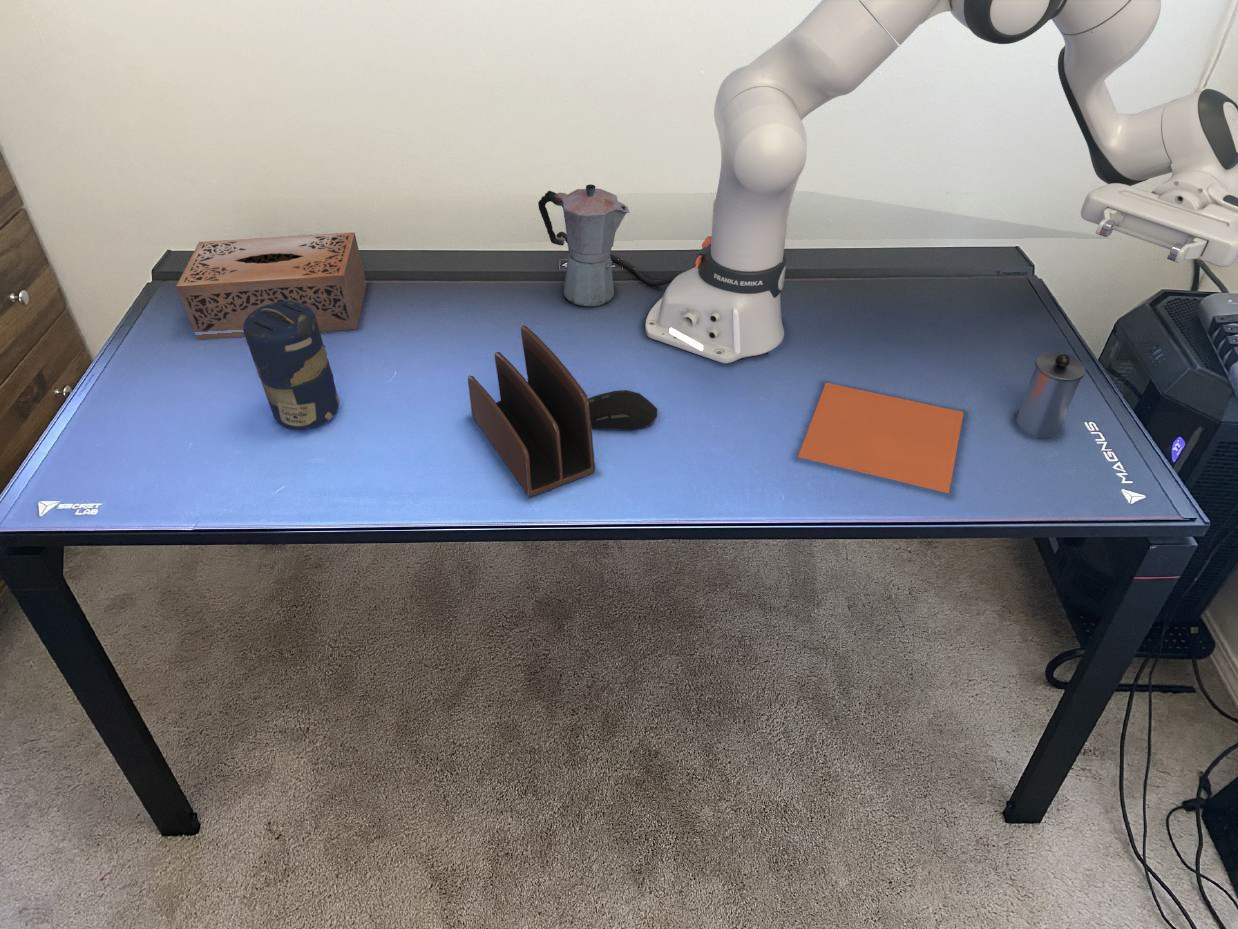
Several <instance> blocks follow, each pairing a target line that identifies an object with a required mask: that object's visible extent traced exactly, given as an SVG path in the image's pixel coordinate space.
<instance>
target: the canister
mask: <svg viewBox="0 0 1238 929" xmlns="http://www.w3.org/2000/svg"><path fill="white" fill-rule="evenodd" d="M243 331H244V335H245V337H244V338H245V341H246V344H247V346H248V349H249V351H250V355H251V358H252V360H253V363H254V366H255V370H256V372H257V375H258V378H259V380H260V382H261V385H262V389H263V391H264V394H265V397H266V399H267V402H268V405H269V408H270V411H271V414H272V416H273V418H274V419H275V421H276V423H277V424H278V425H280V426H281V427H283V428H285V429H288V430H292V431H307V430H312V429H315V428H318V427H321V426H323V425H324V424H326V423H327V422H330V420H332V419H333V418H334V417H335V415H336V414H337V413H338V410H339V407H340V398H339V395H338V392H337V388H336V384H335V379H334V374H333V372H332V368H331V364H330V360H329V358H328V352H327V351H326V345H325V344H324V342H323V338H322V335H321V332H320V331H319V327H318V323H317V320H316V317H315V314H314V312H313V311H312V310H311V309H310V308H309V307H308V306H306V305H304V304H302V303H299V302H293V301H280V302H274V303H270V304H267V305H264V306H262V307H260V308H258V309H256V310H254V311H253V312H252V313H251V314H249V315H248V317H247V318H246V319H245V321H244V326H243Z"/></svg>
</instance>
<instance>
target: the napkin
mask: <svg viewBox="0 0 1238 929" xmlns="http://www.w3.org/2000/svg"><path fill="white" fill-rule="evenodd" d="M823 386H824V387H823V389H822V392H821V394H820V397H819V400H818V402H817V404H816V407H815V410H814V413H813V415H812V418H811V420H810V423H809V426H808V428H807V431H806V435H805V436H804V439H803V441H802V443H801V444H802V445H801V446H800V449H799V452H798V454H797V457H798V458H800V459H805V460H810V461H814V462H817V463H822V464H824V465H825V464H826V465H830V466H833V467H838V468H843V469H846V470H850V471H855V472H859V473H862V474H867V475H871V476H875V477H879V478H884V479H889V480H892V481H897V482H900V483H905V484H908V485H913V486H917V487H921V488H925V489H929V490H934V491H938V492H942V493H946V494H949V493H950V490H951V484H952V479H953V473H954V468H955V461H956V456H957V453H958V452H957V451H958V447H959V446H958V445H959V441H960V435H961V430H962V425H963V419H964V411H961V410H957V409H956V410H955V409H951V408H947V407H942V406H937V405H933V404H928V403H924V402H918V401H913V400H909V399H905V398H900V397H895V396H892V395H885V394H881V393H877V392H872V391H867V390H862V389H857V388H855V387H854V388H853V387H849V386H844V385H839V384H835V383H830V382H825V384H824V385H823Z"/></svg>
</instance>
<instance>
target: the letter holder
mask: <svg viewBox="0 0 1238 929" xmlns="http://www.w3.org/2000/svg"><path fill="white" fill-rule="evenodd" d="M520 335H521V343H522V349H523V356H524V362H525V369H526V370H525V371H526V376H527V379H525V377H524V376H523V375H522V374H521V372H520V371H519V370H518V369H517V368H516V367H515V366H514V364H513V363H511V362H510V360H509V359H508V358H506V357H505V356H504V355H503V353H502V352H500V351H496V352H494V362H495V370H496V374H497V375H496V376H497V382H498V391H499V398H500V400H499V401H497V402H496V401H495V400H494V398H493V397H492V395H490V393H489V392H488V390H486V389H485V388H484V387H483V385H482V384H481V383H479V381H478V380H477V379H476V377H474V376H473V375H468V376H467V385H468V386H467V387H468V394H469V403H470V412H471V416H472V418H473V420H474V421H475V422H476V423H477V425H478V426H479V428H480V429H481V431H482V432H483V433H484V435H485V437H486V438H487V440H488V441H489V442H490V443H491V445H492V446H493V448H494V449H495V451H496V452H497V454H498V455H499V457H500V458H501V460H502V461H503V462H504V464H505V465H506V466H507V468H508V469H509V471H510V472H511V473H512V475H513V476H514V478H515V479H516V480H517V482H518V483H519V485H520V486H521V488H522V489H523V490H524V492H525V493H526V495H527V496H528V497H529V498H533V497H534V496H538V495H540V494H543V493H546V492H548V491H550V490H553V489H555V488H558V487H561V486H563V485H566V484H569V483H571V482H574V481H577V480H579V479H581V478H584V477H587V476H589V475H591V474H594V473H595V472H596V463H595V453H594V452H595V451H594V440H593V438H594V437H593V428H592V427H591V421H590V411H589V401H588V398H589V396H588V395H587V392H585V390H584V389H583V388H582V387H581V386H582V385H580V383H579V382H578V381H577V379H576V378H575V377H574V376H573V375H572V373H571V372H570V370H568V368H567V367H566V365H565V364H564V363H563V362H562V360H560V358H559V357H558V356H557V354H556V353H554V352H553V350H551V349H550V348H549V347H548V346H547V344H546V343H545V342H544V341H543V340H542V339H541V338H540V337H539V336H538V335H537V334H536V333H534V332H533V331H532V330H531V329H530V328H529V327H528V326H527V325H521V326H520Z"/></svg>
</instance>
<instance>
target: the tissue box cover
mask: <svg viewBox="0 0 1238 929" xmlns="http://www.w3.org/2000/svg"><path fill="white" fill-rule="evenodd" d="M364 276H365V277H364ZM365 279H366V274H365V270H364V267H363V261H362V258H361V253H360V248H359V246H358V241H357V237H356V232H354V231H353V232H340V233H339V232H338V233H324V234H323V233H321V234H307V235H305V234H304V235H288V236H274V237H259V238H258V237H257V238H256V237H255V238H239V239H224V240H223V239H222V240H208V241H207V240H205V241H199V242H198V243H197V245H196V247H195V248H194V250H193V252H192V255H191V257H190V259H189V261H188V263H187V264H186V266H185V268H184V270H183V272H182V274H181V275H180V277H179V279H178V282H177V284H176V285H175V288H176V290H177V292H178V295H179V297H180V300H181V302H182V305H183V308H184V311H185V312H186V315H187V317H188V320H189V323H190V325H191V327H192V330H193V333H194V332H208V331H225V330H226V331H227V330H243V326H244V321H245V319H246V318H247V317H248V315H249V314H251V313H252V312H253V311H254V310H256V309H258V308H260V307H262V306H264V305H267V304H270V303H274V302H280V301H293V302H299V303H302V304H304V305H306V306H308V307H309V308H310V309H311V310H312V311H313V312H314V314H315V317H316V320H317V323H318V327H319V331H320V333H321V332H336V331H350V330H358V328H359V327H358V326H359V321H360V318H361V312H362V308H363V303H364V298H365V294H366V289H367V285H368V283H367V279H366V280H365ZM364 281H365V284H364ZM363 286H364V289H363ZM362 292H363V294H362ZM361 297H362V298H361ZM195 337H196V340H197V341H203V340H219V339H231V338H232V339H233V338H245V335H244V332H232V333H217V334H202V335H195Z"/></svg>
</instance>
